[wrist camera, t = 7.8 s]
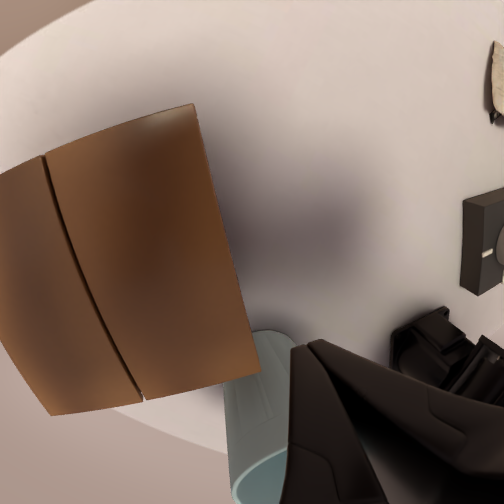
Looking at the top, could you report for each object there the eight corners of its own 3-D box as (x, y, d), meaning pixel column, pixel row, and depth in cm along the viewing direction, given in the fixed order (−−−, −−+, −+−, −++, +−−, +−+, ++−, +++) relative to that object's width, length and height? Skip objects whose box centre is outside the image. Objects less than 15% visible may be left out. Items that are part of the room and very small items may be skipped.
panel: (505, 261, 26) (523, 269, 23) (458, 287, 25) (478, 299, 22) (510, 184, 23) (530, 189, 20) (462, 199, 22) (485, 206, 19)
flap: (193, 104, 10) (193, 102, 9) (260, 366, 14) (261, 371, 13) (48, 152, 9) (44, 153, 9) (146, 394, 13) (146, 400, 13)
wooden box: (189, 119, 16) (195, 100, 9) (235, 298, 20) (264, 372, 13) (16, 181, 15) (-57, 205, 8) (79, 340, 19) (50, 417, 12)
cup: (312, 385, 24) (368, 485, 14) (217, 408, 23) (243, 523, 13) (310, 305, 21) (392, 409, 12) (197, 329, 20) (217, 462, 11)
